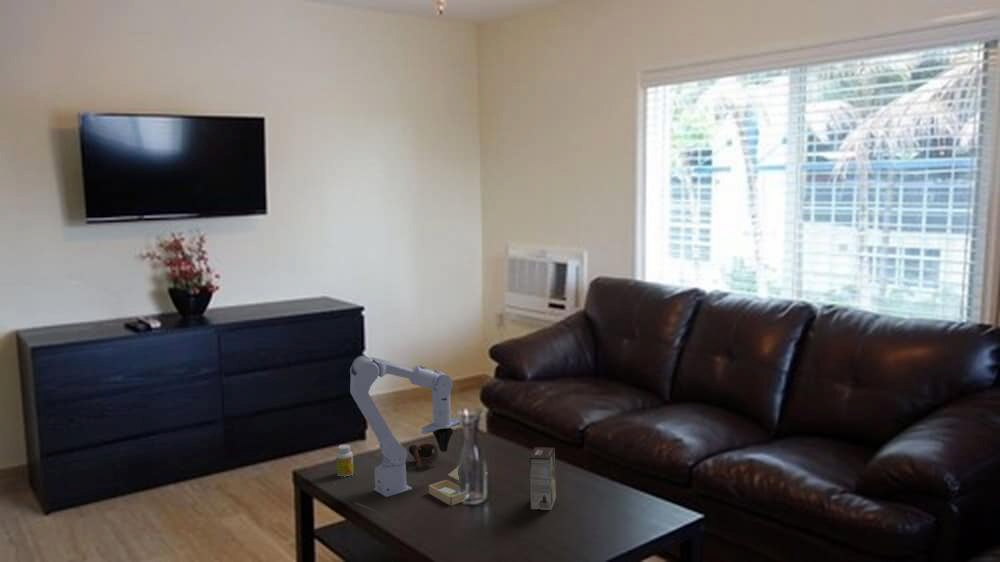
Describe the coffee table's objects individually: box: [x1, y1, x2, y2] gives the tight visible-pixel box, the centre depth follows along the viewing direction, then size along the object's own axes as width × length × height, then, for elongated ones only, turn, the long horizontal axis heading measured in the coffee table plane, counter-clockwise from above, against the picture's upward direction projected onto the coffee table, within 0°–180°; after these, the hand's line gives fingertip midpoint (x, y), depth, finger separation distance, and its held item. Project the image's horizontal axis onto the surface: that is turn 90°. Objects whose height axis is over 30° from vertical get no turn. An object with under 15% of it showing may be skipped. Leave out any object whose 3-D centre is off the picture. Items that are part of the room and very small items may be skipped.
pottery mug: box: [408, 442, 440, 469], centre depth 271 cm, size 12×10×8 cm
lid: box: [447, 465, 489, 481], centre depth 246 cm, size 7×12×1 cm, turn 38°
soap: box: [439, 487, 457, 496], centre depth 241 cm, size 3×5×2 cm, turn 48°
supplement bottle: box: [336, 444, 355, 478], centre depth 262 cm, size 5×5×10 cm
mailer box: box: [428, 479, 467, 506], centre depth 242 cm, size 7×12×3 cm, turn 38°
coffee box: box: [529, 446, 557, 511], centre depth 235 cm, size 9×6×16 cm
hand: (443, 450), depth 254 cm, fingers closed
